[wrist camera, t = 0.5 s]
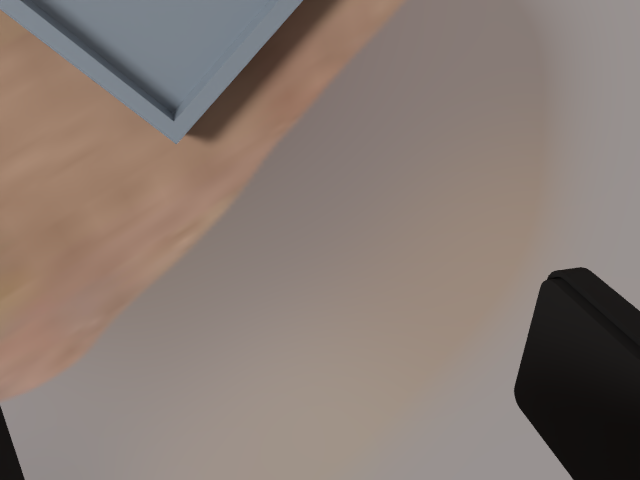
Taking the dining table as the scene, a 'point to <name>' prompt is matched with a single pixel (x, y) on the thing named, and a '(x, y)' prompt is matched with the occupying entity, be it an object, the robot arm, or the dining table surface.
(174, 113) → the tray
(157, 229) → the dining table surface
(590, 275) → the robot arm
